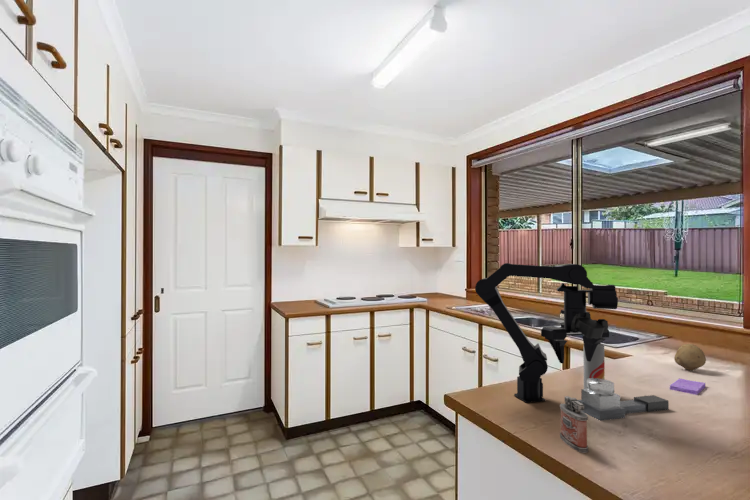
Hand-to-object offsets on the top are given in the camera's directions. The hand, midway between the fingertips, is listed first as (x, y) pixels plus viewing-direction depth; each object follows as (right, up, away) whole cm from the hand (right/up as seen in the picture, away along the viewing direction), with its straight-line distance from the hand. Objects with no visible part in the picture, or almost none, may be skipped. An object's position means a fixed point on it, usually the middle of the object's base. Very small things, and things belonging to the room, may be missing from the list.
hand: (575, 362), depth 111 cm
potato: (+61, -13, +34) cm, 72 cm away
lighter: (-13, -12, -24) cm, 30 cm away
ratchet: (+11, -12, -5) cm, 17 cm away
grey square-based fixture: (+3, -9, -6) cm, 12 cm away
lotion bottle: (+11, -13, +10) cm, 19 cm away
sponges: (+44, -13, +15) cm, 49 cm away
